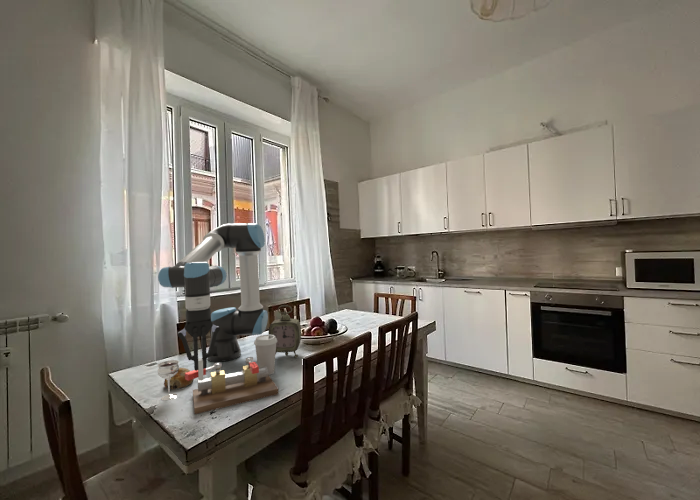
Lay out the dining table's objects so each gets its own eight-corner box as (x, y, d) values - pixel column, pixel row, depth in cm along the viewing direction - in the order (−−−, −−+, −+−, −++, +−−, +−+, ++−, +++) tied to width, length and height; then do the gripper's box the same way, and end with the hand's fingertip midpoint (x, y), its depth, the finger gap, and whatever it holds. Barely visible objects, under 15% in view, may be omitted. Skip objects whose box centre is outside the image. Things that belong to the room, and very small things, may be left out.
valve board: (192, 395, 113) (192, 389, 113) (268, 379, 126) (268, 374, 126) (194, 414, 100) (194, 408, 100) (278, 394, 112) (278, 388, 112)
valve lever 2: (245, 362, 118) (245, 357, 118) (252, 361, 119) (252, 356, 119) (251, 374, 107) (251, 368, 107) (259, 372, 108) (259, 366, 108)
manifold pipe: (197, 391, 111) (197, 370, 111) (265, 377, 123) (265, 358, 122) (198, 397, 107) (197, 375, 107) (268, 381, 119) (268, 361, 119)
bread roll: (194, 393, 123) (202, 371, 126) (170, 391, 115) (179, 368, 118) (179, 387, 128) (187, 367, 131) (156, 385, 120) (164, 364, 123)
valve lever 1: (219, 367, 114) (219, 361, 114) (223, 368, 112) (223, 363, 112) (184, 379, 104) (184, 373, 104) (188, 380, 103) (188, 374, 103)
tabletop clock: (268, 360, 147) (267, 307, 147) (273, 353, 156) (272, 303, 156) (299, 359, 147) (298, 306, 147) (302, 353, 156) (301, 303, 156)
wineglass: (154, 398, 111) (153, 364, 111) (173, 391, 117) (173, 358, 117) (164, 403, 107) (163, 368, 107) (183, 395, 113) (182, 362, 113)
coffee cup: (271, 378, 127) (271, 341, 127) (250, 376, 129) (249, 340, 128) (281, 368, 136) (281, 334, 136) (261, 367, 138) (260, 333, 138)
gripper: (176, 312, 98) (179, 388, 98) (220, 307, 104) (223, 378, 104) (176, 309, 104) (178, 379, 105) (217, 304, 111) (220, 371, 111)
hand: (201, 378), depth 104 cm, fingers closed
